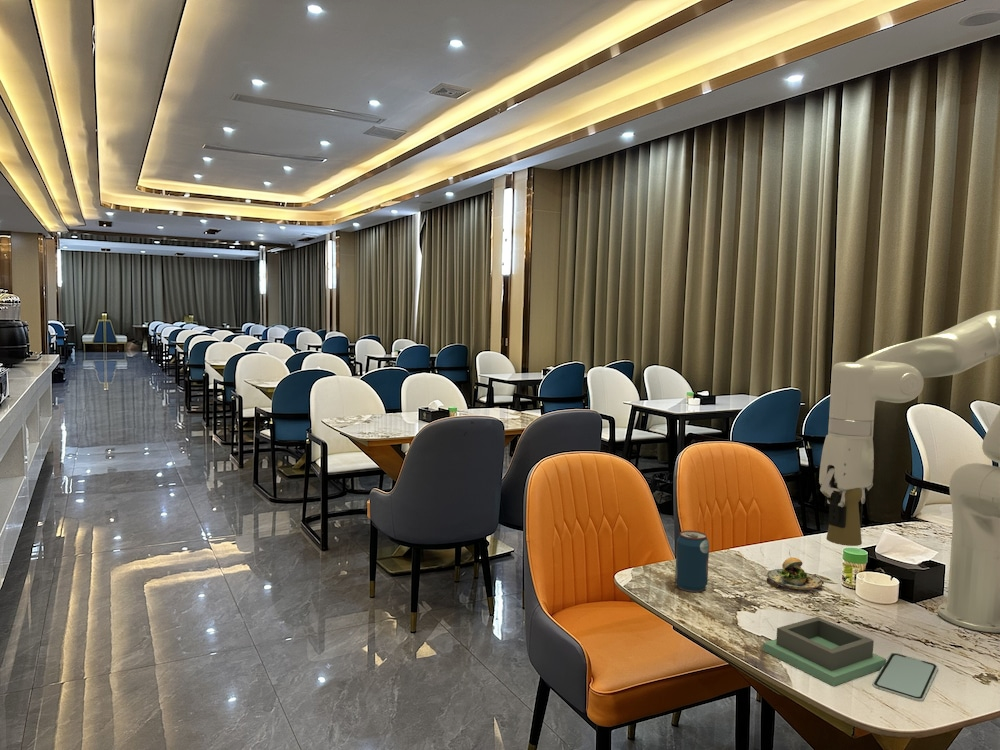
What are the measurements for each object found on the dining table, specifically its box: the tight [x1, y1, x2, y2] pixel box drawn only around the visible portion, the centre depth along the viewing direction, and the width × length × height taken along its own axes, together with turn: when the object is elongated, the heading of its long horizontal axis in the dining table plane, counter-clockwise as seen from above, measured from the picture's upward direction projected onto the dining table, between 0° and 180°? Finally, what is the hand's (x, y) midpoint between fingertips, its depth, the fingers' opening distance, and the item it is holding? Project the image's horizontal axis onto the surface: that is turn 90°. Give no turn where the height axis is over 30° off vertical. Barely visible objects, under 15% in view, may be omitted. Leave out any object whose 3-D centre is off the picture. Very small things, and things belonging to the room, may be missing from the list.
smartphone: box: [872, 652, 939, 702], centre depth 119 cm, size 7×1×15 cm
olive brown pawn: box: [826, 485, 862, 547], centre depth 134 cm, size 6×6×11 cm
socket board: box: [762, 616, 887, 687], centre depth 124 cm, size 14×14×4 cm
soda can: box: [674, 530, 710, 593], centre depth 157 cm, size 7×7×12 cm
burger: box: [766, 549, 825, 591], centre depth 161 cm, size 12×12×8 cm
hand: (844, 523), depth 134 cm, fingers closed on olive brown pawn, 4 cm apart
